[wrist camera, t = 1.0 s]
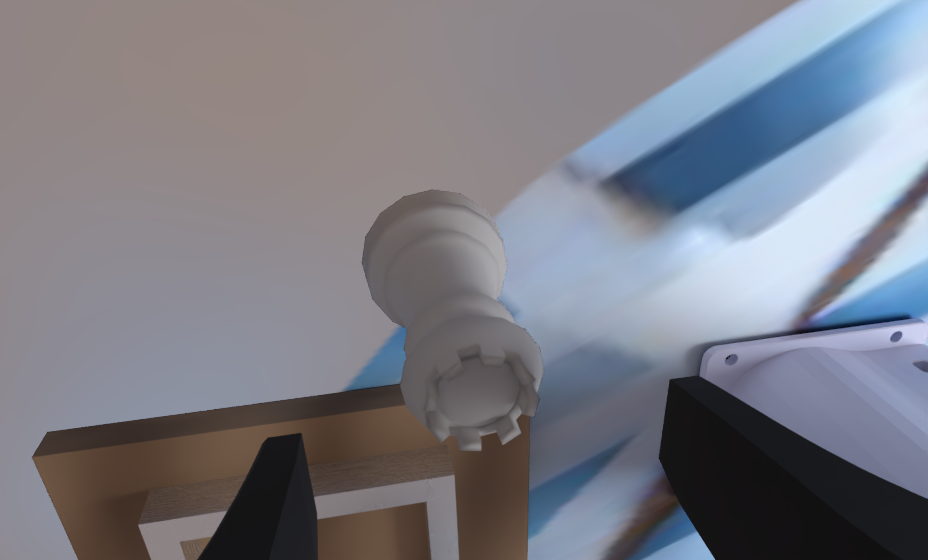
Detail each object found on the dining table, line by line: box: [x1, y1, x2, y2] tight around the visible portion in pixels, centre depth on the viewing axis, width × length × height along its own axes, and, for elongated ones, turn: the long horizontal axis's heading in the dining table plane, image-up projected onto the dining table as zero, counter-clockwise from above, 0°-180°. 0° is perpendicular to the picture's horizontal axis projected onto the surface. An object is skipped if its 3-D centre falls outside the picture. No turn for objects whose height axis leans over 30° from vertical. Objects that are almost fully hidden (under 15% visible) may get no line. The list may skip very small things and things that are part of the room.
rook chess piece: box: [362, 190, 544, 451], centre depth 17 cm, size 4×4×8 cm
